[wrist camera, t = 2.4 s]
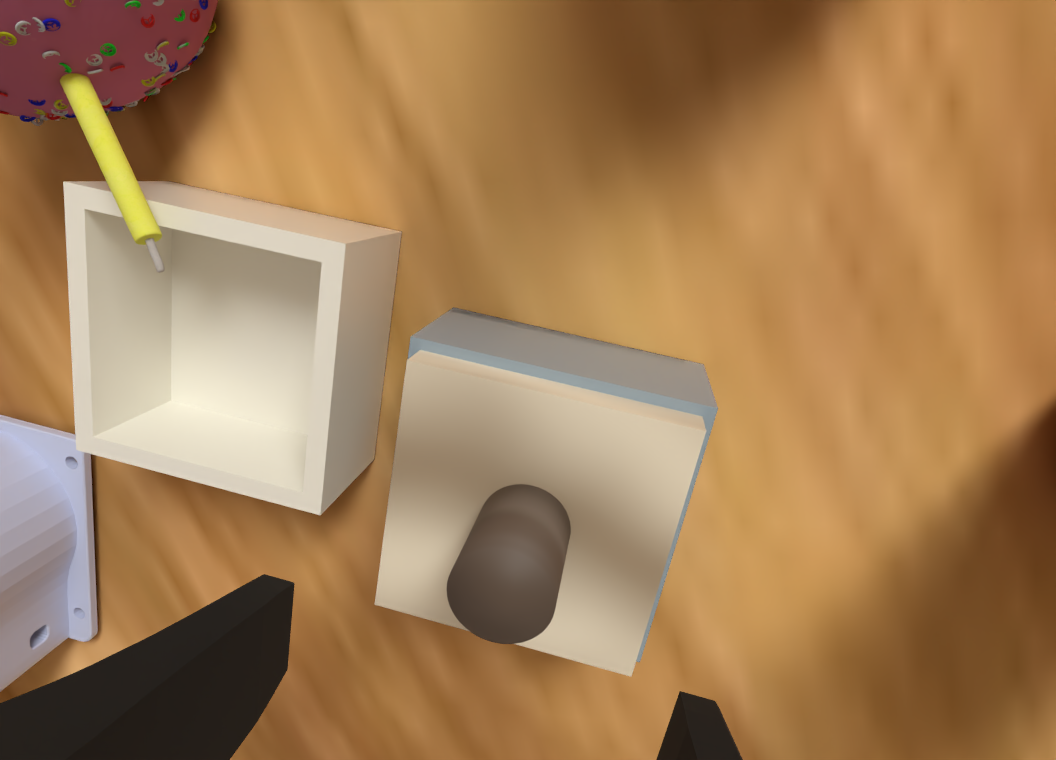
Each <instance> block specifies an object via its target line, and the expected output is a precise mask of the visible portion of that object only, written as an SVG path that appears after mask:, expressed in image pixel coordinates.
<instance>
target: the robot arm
mask: <svg viewBox="0 0 1056 760" xmlns="http://www.w3.org/2000/svg"><path fill="white" fill-rule="evenodd" d="M75 459H76V461H77V462H76V461H75ZM293 594H294V583H293V582H290V581H286V580H283V579H279V578H276V577H272V576H268V575H265V574H264V575H262V576H260V577H258V578H256V579H254V580H252V581H251V582H249V583H247V584H245V585H243V586H242V587H240V588H238V589H236V590H234V591H233V592H231V593H229V594H227V595H225V596H224V597H222V598H220V599H218V600H216V601H215V602H213V603H211V604H209V605H207V606H206V607H204V608H202V609H200V610H198V611H197V612H195V613H193V614H191V615H189V616H187V617H186V618H184V619H182V620H180V621H178V622H176V623H174V624H173V625H171V626H169V627H167V628H165V629H163V630H161V631H159V632H158V633H156V634H154V635H152V636H150V637H148V638H146V639H144V640H142V641H140V642H138V643H136V644H134V645H132V646H130V647H127V648H125V649H123V650H121V651H119V652H117V653H115V654H113V655H111V656H109V657H107V658H105V659H103V660H101V661H99V662H97V663H95V664H93V665H91V666H88V667H86V668H84V669H82V670H80V671H77V672H75V673H73V674H71V675H68V676H66V677H64V678H61V679H59V680H57V681H55V682H52V683H50V684H47V685H45V686H42V687H40V688H37V689H35V690H33V691H30V692H28V693H25V694H23V695H20V696H18V697H15V698H13V699H10V700H8V701H5V702H2V703H0V760H230V758H231V757H232V756H233V754H234V753H235V751H236V750H237V749H238V747H239V746H240V745H241V743H242V742H243V741H244V739H245V738H246V736H247V735H248V734H249V732H250V731H251V730H252V728H253V727H254V725H255V724H256V723H257V721H258V719H259V718H260V716H261V714H262V713H263V711H264V709H265V708H266V706H267V704H268V703H269V701H270V699H271V698H272V696H273V694H274V692H275V690H276V689H277V687H278V685H279V683H280V682H281V680H282V678H283V676H284V675H285V673H286V671H287V667H288V655H289V643H290V631H291V618H292V606H293ZM97 631H98V624H97V599H96V575H95V550H94V525H93V500H92V475H91V454H90V453H86V452H82V451H78V450H76V435H75V434H71V433H67V432H63V431H60V430H56V429H52V428H48V427H45V426H41V425H37V424H33V423H29V422H26V421H22V420H18V419H14V418H11V417H7V416H3V415H0V692H1V691H2V690H3V689H4V688H6V687H7V686H8V685H9V684H11V683H12V682H13V681H14V680H16V679H17V678H18V677H19V676H21V675H22V674H23V673H24V672H26V671H27V670H28V669H29V668H31V667H32V666H33V665H34V664H36V663H37V662H38V661H40V660H41V659H42V658H43V657H45V656H46V655H47V654H48V653H50V652H51V651H52V650H53V649H55V648H56V647H57V646H58V645H60V644H61V643H62V642H63V641H65V640H66V639H67V638H68V637H69V638H72V639H75V640H79V641H83V642H87V641H89V640H91V639H92V638H93V637H94V636H95V635H96V634H97ZM657 760H743V759H742V757H741V755H740V753H739V751H738V749H737V746H736V744H735V742H734V740H733V738H732V735H731V733H730V731H729V729H728V727H727V724H726V722H725V720H724V718H723V715H722V713H721V711H720V709H719V707H718V705H717V704H716V702H715V701H713V700H709V699H706V698H702V697H699V696H695V695H692V694H688V693H685V692H681V691H680V692H679V695H678V698H677V701H676V704H675V707H674V710H673V713H672V716H671V719H670V722H669V725H668V728H667V731H666V734H665V737H664V739H663V742H662V745H661V748H660V751H659V754H658V757H657Z"/></svg>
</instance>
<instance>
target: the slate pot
mask: <svg viewBox="0 0 1056 760" xmlns="http://www.w3.org/2000/svg"><path fill="white" fill-rule="evenodd" d="M419 350H423V351H427V352H431V353H436V354H440V355H444V356H448V357H452V358H457V359H461V360H465V361H469V362H474V363H478V364H482V365H486V366H491V367H495V368H499V369H503V370H508V371H512V372H516V373H520V374H524V375H529V376H533V377H537V378H541V379H546V380H550V381H554V382H558V383H563V384H567V385H571V386H575V387H580V388H584V389H588V390H592V391H597V392H601V393H605V394H609V395H613V396H618V397H622V398H626V399H630V400H635V401H639V402H643V403H647V404H652V405H656V406H660V407H664V408H669V409H673V410H677V411H681V412H685V413H690V414H694V415H698V416H702V417H703V420H704V424H705V428H706V434H705V437H704V440H703V444H702V447H701V450H700V454H699V457H698V460H697V463H696V467H695V470H694V473H693V477H692V480H691V483H690V486H689V490H688V493H687V496H686V499H685V503H684V506H683V509H682V513H681V516H680V519H679V522H678V526H677V529H676V532H675V535H674V539H673V542H672V545H671V549H670V552H669V555H668V558H667V562H666V565H665V568H664V571H663V575H662V578H661V581H660V585H659V588H658V591H657V594H656V598H655V601H654V604H653V607H652V611H651V614H650V617H649V621H648V624H647V627H646V630H645V634H644V637H643V640H642V643H641V647H640V650H639V653H638V657H637V660H636V661H637V662H640V660H641V657H642V653H643V650H644V647H645V644H646V640H647V637H648V634H649V631H650V627H651V624H652V621H653V618H654V614H655V611H656V608H657V605H658V601H659V598H660V595H661V592H662V588H663V585H664V582H665V579H666V575H667V572H668V569H669V566H670V562H671V559H672V556H673V553H674V550H675V546H676V543H677V540H678V537H679V533H680V530H681V527H682V524H683V520H684V517H685V514H686V511H687V507H688V504H689V501H690V498H691V494H692V491H693V488H694V485H695V481H696V478H697V475H698V472H699V468H700V465H701V462H702V459H703V455H704V452H705V449H706V446H707V442H708V439H709V436H710V433H711V429H712V426H713V423H714V420H715V416H716V413H717V410H718V407H717V404H716V401H715V398H714V395H713V392H712V388H711V385H710V382H709V379H708V376H707V373H706V370H705V367H704V364H700V363H695V362H691V361H687V360H682V359H678V358H673V357H669V356H665V355H660V354H656V353H651V352H647V351H643V350H638V349H634V348H629V347H625V346H621V345H616V344H612V343H607V342H603V341H599V340H594V339H590V338H586V337H581V336H577V335H572V334H568V333H564V332H559V331H555V330H550V329H546V328H542V327H537V326H533V325H528V324H524V323H520V322H515V321H511V320H506V319H502V318H498V317H493V316H489V315H484V314H480V313H476V312H471V311H467V310H462V309H458V308H452V309H451V310H449V311H448V312H446V313H445V314H443V315H442V316H440V317H439V318H437V319H436V320H434V321H433V322H431V323H430V324H428V325H427V326H426V327H424V328H423V329H421V330H420V331H418V332H417V333H415V334H414V335H412V336H411V339H410V346H409V354H408V359H409V358H410V357H412V356H413V355H414V354H416V353H417V352H418V351H419Z"/></svg>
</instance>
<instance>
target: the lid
mask: <svg viewBox="0 0 1056 760" xmlns="http://www.w3.org/2000/svg"><path fill="white" fill-rule="evenodd" d="M705 434H706V428H705V424H704V420H703V417H702V416H698V415H694V414H690V413H685V412H681V411H677V410H673V409H669V408H664V407H660V406H656V405H652V404H647V403H643V402H639V401H635V400H630V399H626V398H622V397H618V396H613V395H609V394H605V393H601V392H597V391H592V390H588V389H584V388H580V387H575V386H571V385H567V384H563V383H558V382H554V381H550V380H546V379H541V378H537V377H533V376H529V375H524V374H520V373H516V372H512V371H508V370H503V369H499V368H495V367H491V366H486V365H482V364H478V363H474V362H469V361H465V360H461V359H457V358H452V357H448V356H444V355H440V354H436V353H431V352H427V351H423V350H419V351H418V352H417V353H416V354H414V355H413V356H412V357H410V358H409V359H408V360H407V364H406V371H405V379H404V386H403V394H402V401H401V409H400V417H399V424H398V432H397V439H396V447H395V454H394V462H393V469H392V477H391V484H390V492H389V500H388V507H387V515H386V522H385V530H384V537H383V545H382V552H381V560H380V568H379V575H378V583H377V590H376V598H375V605H378V606H381V607H385V608H388V609H392V610H396V611H399V612H403V613H406V614H410V615H413V616H417V617H420V618H424V619H428V620H431V621H435V622H438V623H442V624H445V625H449V626H452V627H456V628H460V629H463V630H467V631H470V632H472V633H473V634H475V635H477V636H478V637H480V638H483V639H485V640H488V641H491V642H495V643H501V644H516V645H520V646H524V647H527V648H531V649H534V650H538V651H541V652H545V653H549V654H552V655H556V656H559V657H563V658H566V659H570V660H573V661H577V662H581V663H584V664H588V665H591V666H595V667H598V668H602V669H605V670H609V671H613V672H616V673H620V674H623V675H627V676H630V677H631V676H632V673H633V670H634V666H635V663H636V660H637V657H638V653H639V650H640V647H641V643H642V640H643V637H644V634H645V630H646V627H647V624H648V621H649V617H650V614H651V611H652V607H653V604H654V601H655V598H656V594H657V591H658V588H659V585H660V581H661V578H662V575H663V571H664V568H665V565H666V562H667V558H668V555H669V552H670V549H671V545H672V542H673V539H674V535H675V532H676V529H677V526H678V522H679V519H680V516H681V513H682V509H683V506H684V503H685V499H686V496H687V493H688V490H689V486H690V483H691V480H692V477H693V473H694V470H695V467H696V463H697V460H698V457H699V454H700V450H701V447H702V444H703V440H704V437H705Z"/></svg>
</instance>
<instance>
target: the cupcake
mask: <svg viewBox="0 0 1056 760" xmlns="http://www.w3.org/2000/svg"><path fill="white" fill-rule="evenodd" d="M217 3H218V0H0V113H2V114H10V115H15V116H20V119H21V120H22V121H25V122H30V121H31V122H32V123H33V124H34V125H37V126H40V125H42V124H43V120H46V121H47V120H50V119H51V120H56V121H59V120H60V118H62V119H67V117H68V118H74V117H77V120H78V122H79V124H80V126H81V128H82V130H83V132H84V135H85V137H86V139H87V141H88V143H89V145H90V147H91V149H92V152H93V154H94V156H95V158H96V160H97V162H98V164H99V167H100V169H101V171H102V173H103V175H104V177H105V179H106V182H107V184H108V186H109V188H110V190H111V192H112V194H113V196H114V199H115V201H116V203H117V205H118V207H119V209H120V211H121V214H122V216H123V218H124V220H125V222H126V224H127V226H128V228H129V231H130V233H131V235H132V237H133V239H134V241H135V242H136V243H137V244H139V245H147V248H148V251H149V253H150V256H151V258H152V260H153V262H154V265H155V267H156V270H157V272H159V273H160V272H164V270H165V268H164V264H163V261H162V259H161V257H160V254H159V252H158V250H157V247H156V244H155V242H157V241H158V240H160V239H161V238H162V233H161V231H160V229H159V226H158V224H157V222H156V220H155V218H154V216H153V214H152V212H151V209H150V207H149V205H148V203H147V201H146V199H145V197H144V194H143V192H142V190H141V188H140V186H139V184H138V182H137V179H136V177H135V175H134V173H133V171H132V169H131V167H130V165H129V162H128V160H127V158H126V156H125V154H124V152H123V150H122V147H121V145H120V143H119V141H118V139H117V137H116V135H115V132H114V130H113V128H112V126H111V124H110V122H109V120H108V118H107V115H108V114H109V112H108V111H116V112H121V111H124V110H125V106H127V107H134V106H136V105H137V102H138V101H139V99H142V98H144V99H143V101H144V102H145V101H146V100H147V98H148V97H149V96H150V95H155V94H158V93H159V92H160V88H161V87H163V86H164V85H167V84H170V83H171V82H172V81H173V80H176V78H174V77H175V76H176V75H178V74H180V73H181V72H184V71H187V70H189V69H190V66H189V65H191V64H192V62H193V61H194V60H196V59H197V57H198V55H199V54H201V53H202V52H203V49H204V47H205V46H204V44H203V43H204V42H205V41H206V40H207V39H208V38H209V36H207V34H208V33H212V32H214V31H215V29H216V24H215V22H214V21H212V20H213V17H214V14H215V11H216V7H217ZM211 24H212V25H211ZM212 26H213V28H212V29H210V27H212ZM193 57H194V58H193ZM133 103H134V104H133ZM128 104H131V105H128ZM123 105H125V106H123ZM118 108H119V109H118ZM25 118H29V119H25ZM35 119H36V122H35V121H34V120H35ZM37 119H40V122H38V121H37Z"/></svg>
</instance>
